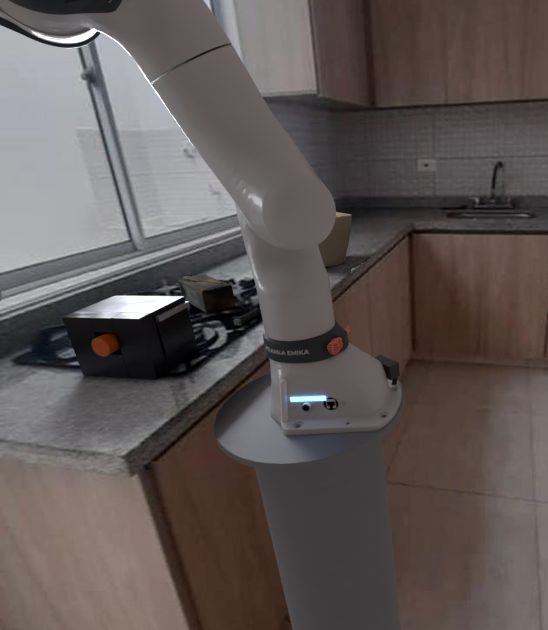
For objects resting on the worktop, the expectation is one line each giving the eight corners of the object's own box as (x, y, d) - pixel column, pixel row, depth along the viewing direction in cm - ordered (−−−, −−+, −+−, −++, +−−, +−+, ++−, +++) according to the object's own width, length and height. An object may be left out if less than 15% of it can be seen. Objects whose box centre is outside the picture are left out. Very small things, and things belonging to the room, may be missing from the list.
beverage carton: (210, 292, 129) (205, 270, 127) (237, 306, 116) (232, 283, 114) (181, 299, 124) (175, 277, 122) (206, 315, 111) (201, 290, 109)
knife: (277, 293, 120) (292, 294, 119) (278, 299, 121) (293, 300, 119) (227, 318, 103) (245, 319, 102) (229, 325, 104) (246, 327, 102)
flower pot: (331, 254, 167) (325, 209, 161) (358, 263, 153) (353, 214, 147) (283, 264, 156) (275, 216, 150) (307, 274, 142) (300, 222, 136)
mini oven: (202, 350, 91) (188, 296, 87) (161, 379, 80) (143, 319, 76) (132, 348, 94) (115, 295, 90) (83, 375, 83) (61, 317, 79)
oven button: (126, 348, 81) (121, 331, 80) (112, 357, 78) (106, 338, 77) (110, 348, 82) (104, 330, 81) (95, 356, 79) (88, 338, 78)
